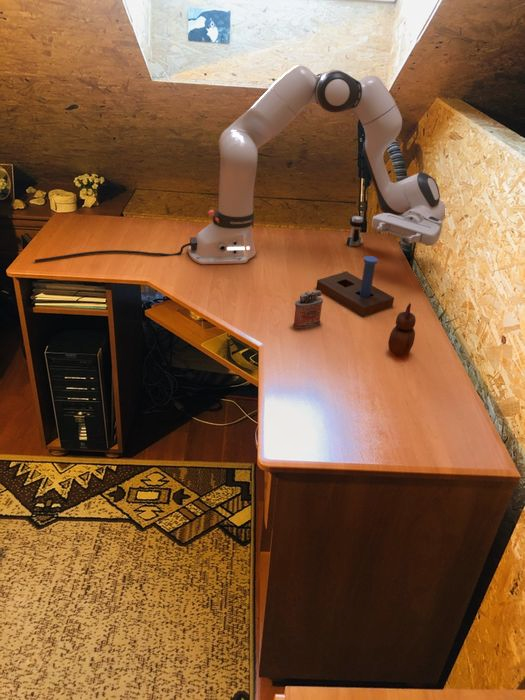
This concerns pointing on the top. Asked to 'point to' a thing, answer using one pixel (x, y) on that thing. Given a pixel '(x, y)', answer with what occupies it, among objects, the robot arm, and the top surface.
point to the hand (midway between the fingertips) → (393, 235)
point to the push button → (355, 231)
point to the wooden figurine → (402, 334)
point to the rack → (354, 294)
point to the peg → (368, 276)
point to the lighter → (308, 310)
